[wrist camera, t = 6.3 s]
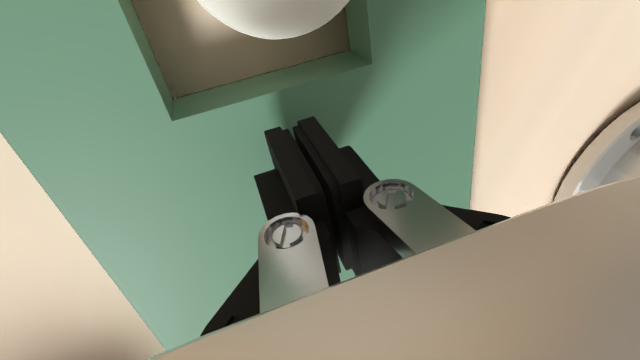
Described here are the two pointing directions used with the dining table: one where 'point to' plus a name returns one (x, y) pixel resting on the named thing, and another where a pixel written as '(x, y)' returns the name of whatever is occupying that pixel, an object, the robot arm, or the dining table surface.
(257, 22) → the ball
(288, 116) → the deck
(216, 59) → the dining table surface
